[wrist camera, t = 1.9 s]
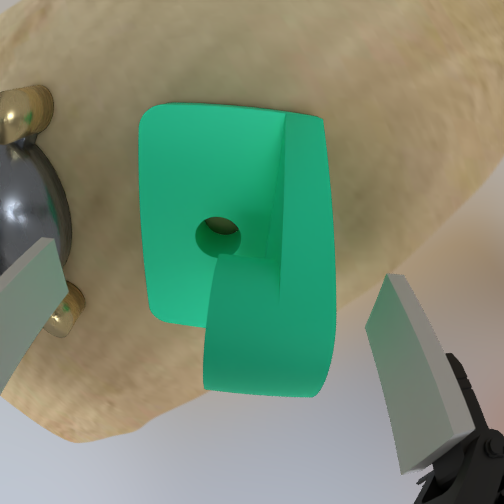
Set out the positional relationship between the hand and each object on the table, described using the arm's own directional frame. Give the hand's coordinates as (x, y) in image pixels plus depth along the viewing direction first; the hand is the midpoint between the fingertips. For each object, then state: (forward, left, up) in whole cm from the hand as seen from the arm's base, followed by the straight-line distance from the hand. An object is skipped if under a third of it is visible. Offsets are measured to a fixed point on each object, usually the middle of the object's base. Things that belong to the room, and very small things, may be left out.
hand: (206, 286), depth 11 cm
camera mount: (0, 0, -7) cm, 7 cm away
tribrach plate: (-18, 0, -6) cm, 19 cm away
